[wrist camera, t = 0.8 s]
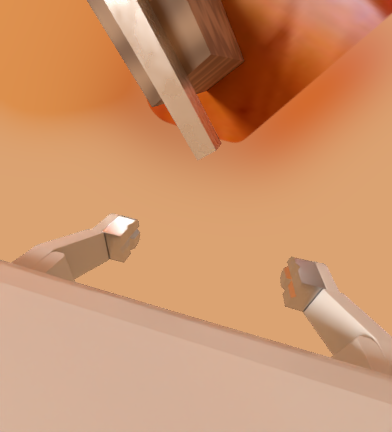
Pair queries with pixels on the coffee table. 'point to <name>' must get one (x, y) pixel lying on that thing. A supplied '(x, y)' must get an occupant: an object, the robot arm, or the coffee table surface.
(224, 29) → the wavy grain block
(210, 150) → the wooden bar
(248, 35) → the coffee table surface
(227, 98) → the coffee table surface
